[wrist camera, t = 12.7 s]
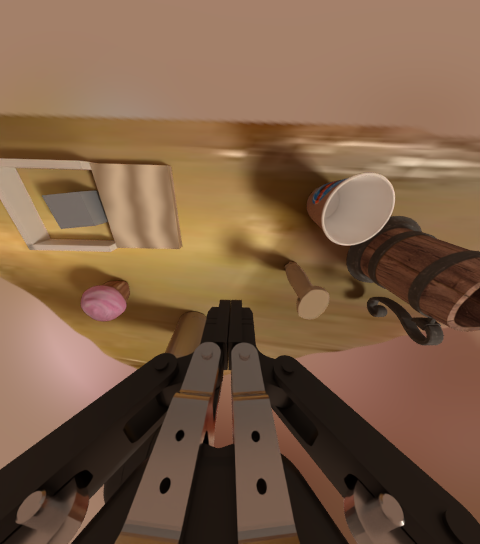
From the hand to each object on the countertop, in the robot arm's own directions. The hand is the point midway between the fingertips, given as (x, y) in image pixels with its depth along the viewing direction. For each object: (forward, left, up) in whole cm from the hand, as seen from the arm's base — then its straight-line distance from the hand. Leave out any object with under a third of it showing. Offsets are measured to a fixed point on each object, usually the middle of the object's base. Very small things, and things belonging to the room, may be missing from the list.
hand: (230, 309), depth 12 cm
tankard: (+10, -35, -29) cm, 47 cm away
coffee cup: (+13, -13, -29) cm, 35 cm away
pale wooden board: (-8, +18, -29) cm, 35 cm away
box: (-16, +31, -29) cm, 45 cm away
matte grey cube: (-14, +28, -29) cm, 43 cm away
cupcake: (-31, +17, -29) cm, 46 cm away
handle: (-2, -17, -29) cm, 34 cm away
